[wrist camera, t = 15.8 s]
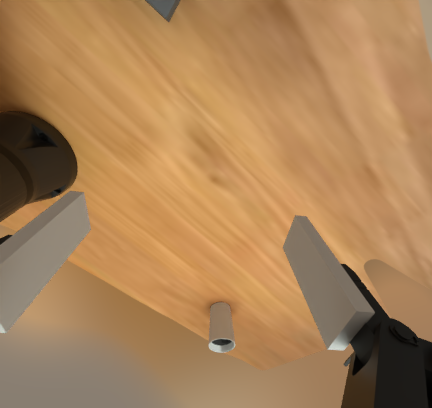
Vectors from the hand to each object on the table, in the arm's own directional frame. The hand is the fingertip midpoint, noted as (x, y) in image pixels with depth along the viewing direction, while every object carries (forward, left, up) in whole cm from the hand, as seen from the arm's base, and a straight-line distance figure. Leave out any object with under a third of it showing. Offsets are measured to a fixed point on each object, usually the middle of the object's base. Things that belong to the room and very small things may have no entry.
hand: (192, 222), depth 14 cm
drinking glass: (+10, -48, -27) cm, 56 cm away
